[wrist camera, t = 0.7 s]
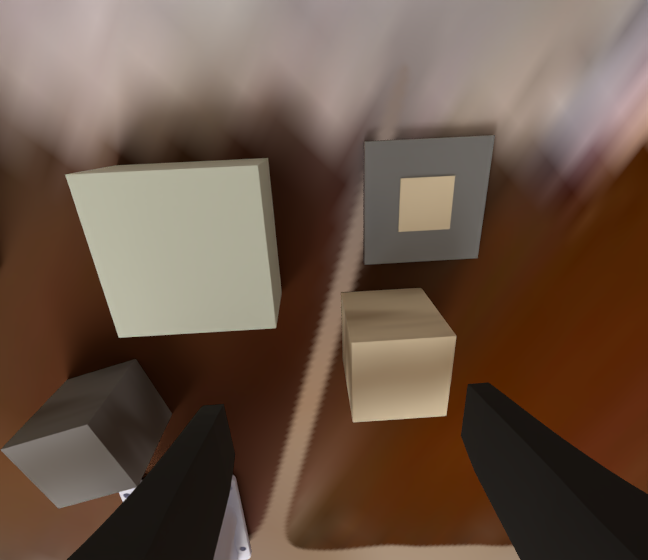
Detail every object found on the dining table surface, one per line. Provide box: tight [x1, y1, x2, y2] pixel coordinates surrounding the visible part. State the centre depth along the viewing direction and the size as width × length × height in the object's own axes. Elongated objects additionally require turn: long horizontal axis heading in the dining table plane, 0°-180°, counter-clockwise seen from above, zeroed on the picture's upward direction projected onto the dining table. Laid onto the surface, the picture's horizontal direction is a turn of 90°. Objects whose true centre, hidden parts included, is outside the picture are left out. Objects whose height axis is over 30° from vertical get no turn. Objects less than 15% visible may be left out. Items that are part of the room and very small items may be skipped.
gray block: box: [1, 359, 172, 508], centre depth 19 cm, size 4×4×5 cm
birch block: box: [341, 288, 456, 422], centre depth 18 cm, size 4×4×5 cm
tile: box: [363, 135, 495, 265], centre depth 17 cm, size 6×6×1 cm
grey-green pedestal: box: [66, 158, 282, 338], centre depth 16 cm, size 7×7×4 cm
